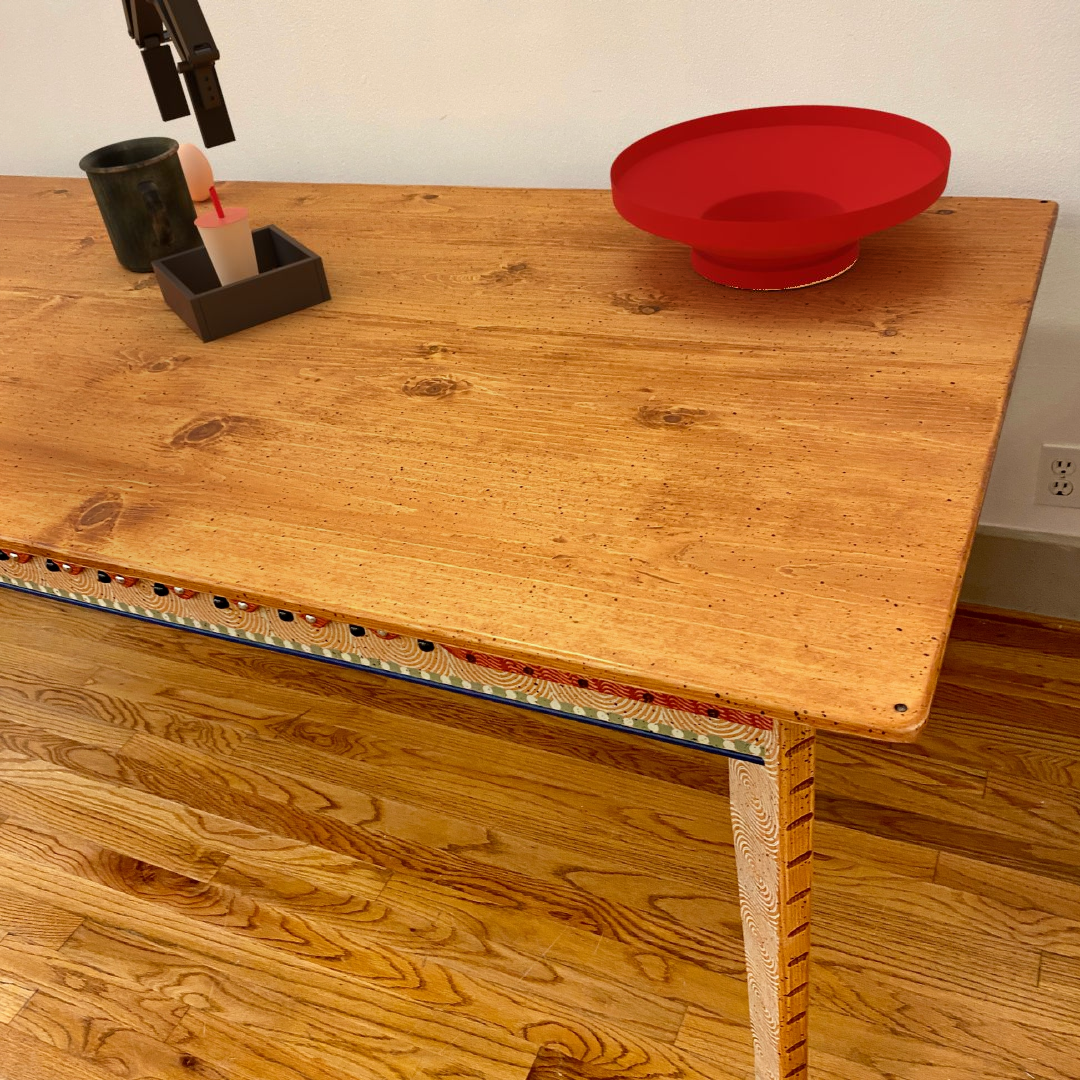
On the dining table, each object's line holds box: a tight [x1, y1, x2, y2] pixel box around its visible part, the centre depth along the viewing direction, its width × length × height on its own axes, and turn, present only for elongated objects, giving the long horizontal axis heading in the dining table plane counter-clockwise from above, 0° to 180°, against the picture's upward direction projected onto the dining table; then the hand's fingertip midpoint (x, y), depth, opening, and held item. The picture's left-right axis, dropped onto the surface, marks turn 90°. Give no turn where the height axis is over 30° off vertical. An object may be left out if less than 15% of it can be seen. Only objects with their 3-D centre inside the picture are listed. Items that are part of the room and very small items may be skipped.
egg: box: [177, 142, 215, 202], centre depth 140 cm, size 5×5×7 cm
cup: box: [194, 185, 259, 287], centre depth 109 cm, size 5×5×12 cm
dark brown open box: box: [151, 223, 332, 344], centre depth 111 cm, size 14×14×4 cm
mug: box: [78, 136, 205, 272], centre depth 122 cm, size 11×15×12 cm
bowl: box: [609, 104, 952, 291], centre depth 103 cm, size 30×30×10 cm
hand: (197, 130), depth 103 cm, fingers open, 13 cm apart
